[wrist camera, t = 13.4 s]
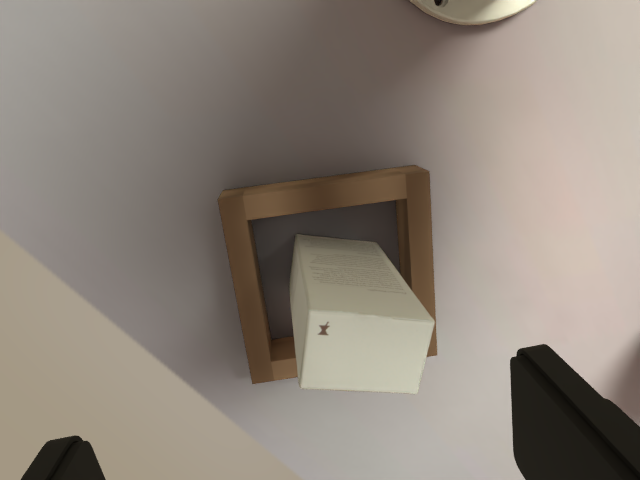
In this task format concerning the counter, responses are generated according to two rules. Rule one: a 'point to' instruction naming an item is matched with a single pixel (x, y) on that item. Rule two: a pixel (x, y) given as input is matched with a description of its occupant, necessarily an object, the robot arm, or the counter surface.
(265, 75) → the counter surface
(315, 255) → the skincare box
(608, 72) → the counter surface
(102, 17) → the counter surface
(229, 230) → the square wooden frame
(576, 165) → the counter surface
